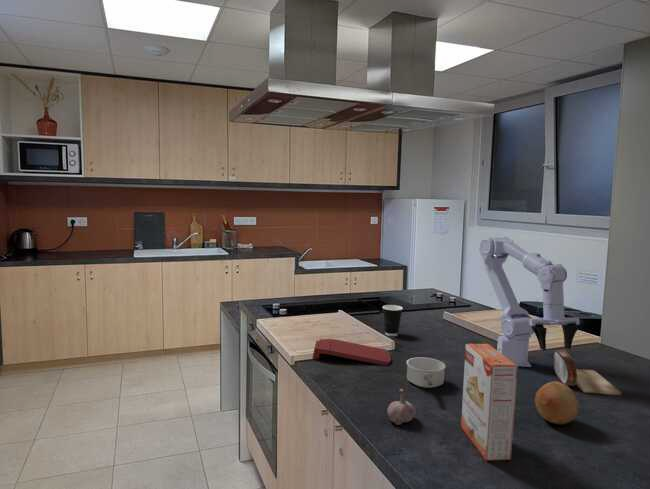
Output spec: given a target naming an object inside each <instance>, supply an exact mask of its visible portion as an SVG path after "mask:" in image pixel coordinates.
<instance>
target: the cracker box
mask: <svg viewBox="0 0 650 489" xmlns="http://www.w3.org/2000/svg"><path fill="white" fill-rule="evenodd" d="M518 368H519V366H517V365H516V364H514V363H513V362H512V361H510V360H509V359H508V358H506V357H505V356H504V355H502V354H501V353H500V352H498V351H497V348H494V347H493V346H492V345H491V344H489V343H466V344H465V352H464V370H463V371H464V372H463V385H462V386H463V388H462V404H461V406H462V407H461V422H460V428H461V429H462V430H463V432H464V433H465V434H466V435H467V437H468V438H469V440H470V441H471V443H472V445H474V446H475V448H476V449H477V451H478V452H479V453H480V454H481V456H482V457H483V459H484V461H486V462H489V461H511V460H512V450H513V437H514V436H513V435H514V421H515V409H516V408H515V406H516V394H517V393H516V392H517V381H518Z"/></svg>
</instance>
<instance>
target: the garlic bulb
mask: <svg viewBox="0 0 650 489" xmlns="http://www.w3.org/2000/svg"><path fill="white" fill-rule="evenodd" d="M398 391H399V397H400V398H399V401H398V400H395V401H392V402H391V403H390V404H389V405H388V407H387V410H386V413H387V416H388V419H389V420H390V421H391V422H393V423H394V424H395V425H398V426H400V425H402V424H403V423H408V422H410V421H412V420H413V419H414V417H415V415H416V407H415V406H414V404H412V403H411V402H408V401H406V400H405V393H404V392H405V391H404V389H403V388H400V389H399V390H398Z"/></svg>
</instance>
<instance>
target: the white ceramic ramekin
mask: <svg viewBox="0 0 650 489" xmlns="http://www.w3.org/2000/svg"><path fill="white" fill-rule="evenodd" d="M405 363H406V365H407V368H406V369H407V370H406V378H407V379H406V380H407V381H408V382H410V383H412V384H413V385H415V386H417V387H421V388H429V389H430V388H432V389H433V388H436V387H438V386H439V387H440V386H441V385H443V384H444V382H445V369H446V367H447V365H446V364H445V363H444V362H443V361H441V360H438V359H436V358H431V357H424V356H423V357H422V356H420V357H418V356H417V357H412V358H409V359H407V360H406V362H405Z"/></svg>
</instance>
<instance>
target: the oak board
mask: <svg viewBox="0 0 650 489" xmlns="http://www.w3.org/2000/svg"><path fill="white" fill-rule="evenodd" d="M576 370H577V381H576V385H575V386H577V387H578V388H579V389H580V391H582V392H583V393H589V394H590V393H591V394H600V395H601V394H602V395H616V396H622V391H620V390H619V389H618V388H617V387H615V386H614V385H613V384H612V383H610V382H609V381H608V380H606V378H604V377H603V376H602V375H601V374H599V373H598V372H597V371H595V370H594V369H580V368H579V369H578V368H576Z"/></svg>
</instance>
